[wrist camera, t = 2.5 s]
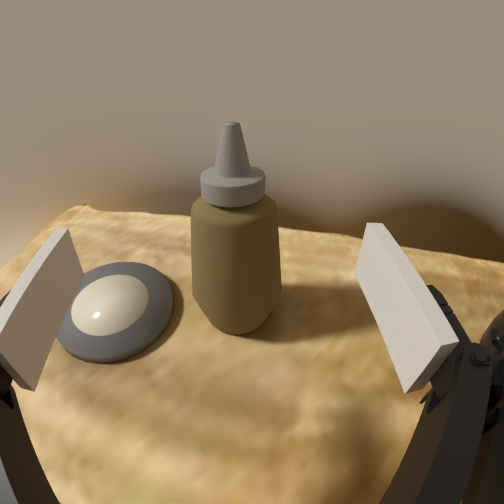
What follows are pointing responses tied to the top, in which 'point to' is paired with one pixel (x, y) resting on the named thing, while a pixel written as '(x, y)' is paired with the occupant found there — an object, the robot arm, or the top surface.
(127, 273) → the coaster
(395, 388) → the top surface
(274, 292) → the squeeze bottle
